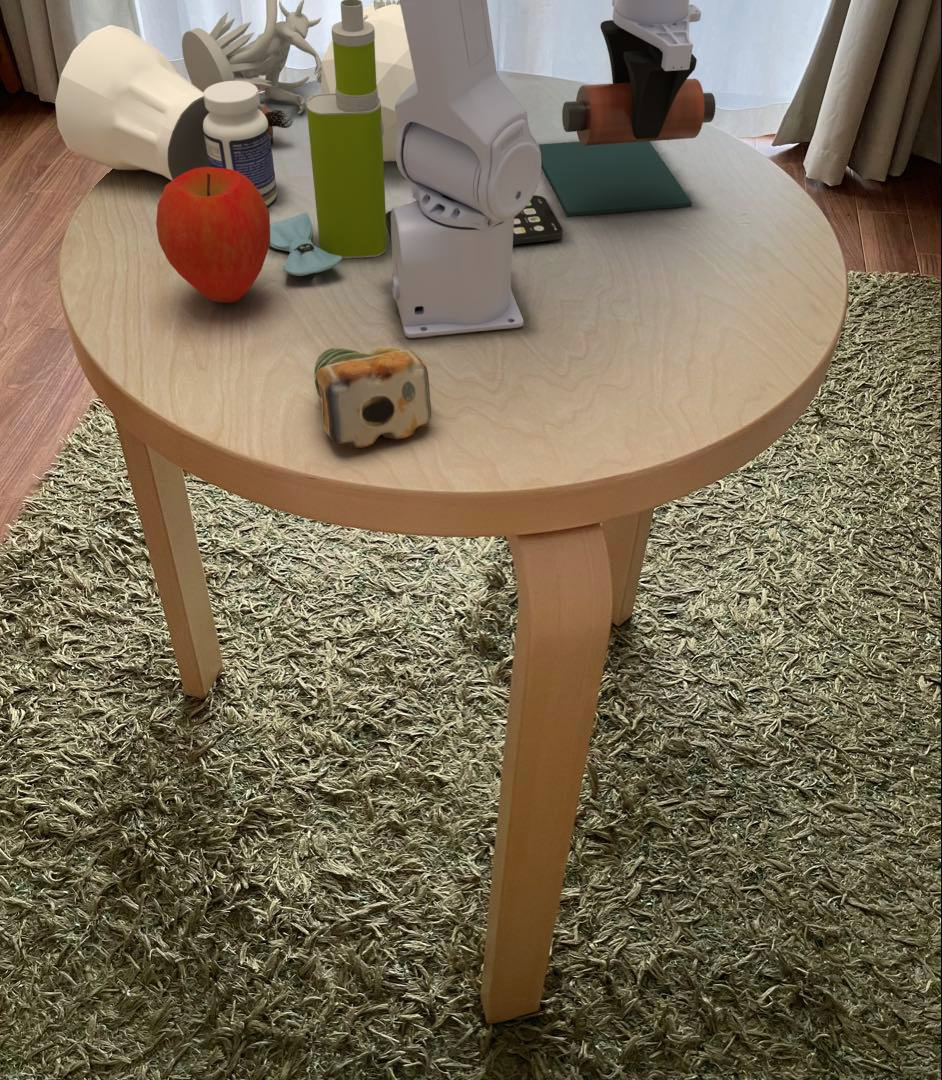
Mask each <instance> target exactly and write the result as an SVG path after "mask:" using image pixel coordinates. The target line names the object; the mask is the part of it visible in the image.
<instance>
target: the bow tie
mask: <svg viewBox="0 0 942 1080" xmlns="http://www.w3.org/2000/svg"><path fill="white" fill-rule="evenodd" d="M312 236H313V224H312V220H311V217H310V215H309V212H308V211H305V212H303V213H300V214H298V215H296V216H294V217H290V218H289V217H288V218H286V219H283V220H278V221H276V222H274V223H270V245H269V247H271V248H273V249H276V250H280V251H284V252H289V254H288V256H287V258H286V260H285V263H284V265H283V269H282V270H283V272H284V273H286V274H289V275H292V276H296V277H301V276H307V275H311V274H317V273H321V272H324V271H327V270H330V269H332V268H335V266H337V265H338V264H339V263H340V262H341V261H342V259H343V258H342V256H338V255H333V254H329V253H327V252H325V251H323V250H322V249H320V247H317V246H316V245H314V243H313V241H312V238H313V237H312Z"/></svg>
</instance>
